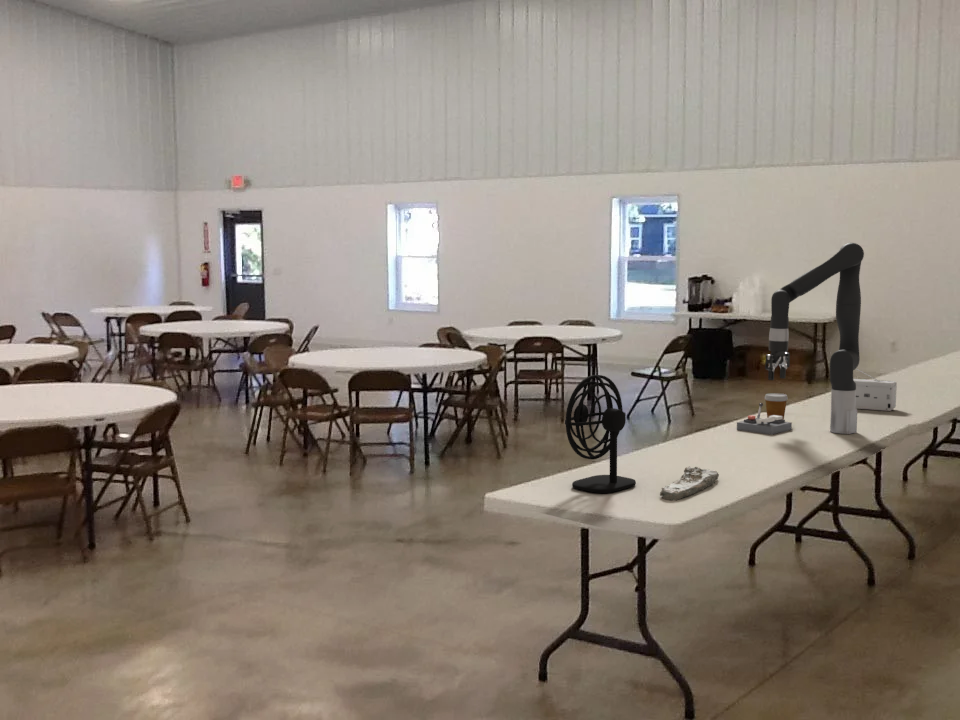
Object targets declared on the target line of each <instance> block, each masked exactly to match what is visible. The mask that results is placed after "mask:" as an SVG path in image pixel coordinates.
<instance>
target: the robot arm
mask: <svg viewBox="0 0 960 720" xmlns="http://www.w3.org/2000/svg"><path fill="white" fill-rule="evenodd" d="M864 256H865V252H864V249H863V247H862V246H861V245H860V244H859V243H856V242H848V243H845V244H843V245H842V246H841V247H840V249H839V250H838V251H837V252H836V253H835V254H834V255H833V256H832V257H830V258H829V259H827V260H826V261H825V262H823V263H821V264H819V265H817V266H815V267H813V268H812V269H810V270H808V271H806V272H804V273H803V274H801V275H799V276H798V277H797V278H795V279H793V280H792V281H791V282H789V283H788V284H786V285H784V286H782V287H781V288H779V289H777V290H776V291H774V292H773V293H772V296H771V300H770V304H771V305H770V306H771V308H770V309H771V316H770V322H769V323H770V328H769V333H768V334H769V335H768V351H769V352H771V353H770V354H766V355H765V364H764V365H765V366H764V369H765V370H766V371H768V372H767V373H768V374H767V375H768V376H767V379H768V381H774V380H775V369H776V368H777V367H778V366H779V368H780V369H779V378H780V379H786V377H787V375H786V374H787V373H786V372H787V369H788V368H790V366H791V365H790V361H791V359H790V358H791V354H790V352H788V351H789V336H790V335H789V332H790V331H789V326H790V325H789V324H790V323H789V311H790V303H791V302H793V301H794V300H796V299H798V298H799V297H801V296H804V295H805V294H807V293H808V292H810V291H812V290H814V289H815V288H817V287H818V286H820V285H822V283H824V282H825V281H827V280H828V279H830V278H831V277H833V276H835V275H837V274H839V282H838V287H837V291H836V292H837V293H836V300H835V301H836V302H835V305H836V306H835V319H836V323H837V327H838V331H839V347H838V350H836V351H834V352H833V353H832V355H831V356H830V358H829V359H830V360H829V381H830V386H831V391H830V420H829V421H830V423H829V424H830V425H829V426H830V427H829V429H830V430H829V431H830V433H835V434H841V435H842V434H843V435H844V434H846V435H847V434H848V435H850V434H855V433H857V431H858V430H857V429H858V409H857V408H855V402H856V383H855V382H854V380H853V379H854V370H857V369H858V366H859V365H860V343H859V336H860V335H859V333H860V322H861V320H860V319H861V311H862V310H861V309H862V308H861V307H862V294H861V293H862V292H861V285H860V284H861V283H860V274H861V265H862V261H863V260H864V258H865V257H864Z"/></svg>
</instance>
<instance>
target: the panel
mask: <svg viewBox="0 0 960 720" xmlns="http://www.w3.org/2000/svg"><path fill="white" fill-rule="evenodd" d="M759 419H763V418H761V417H760V418H759ZM756 420H758V418H757V417H755V419H754V420H750V419H748V418H745V419H743V420H741V421H737V422H736V430H737V431H744V432H750V433H757V434H765V435H776V434H781V433H784V432H789V431H792V430H793V429H792V423H793V422H790V421H786V419H784V420H783V419H781V420H775V421H772V422H766V423H764V422H761V423H759V424H757V422H756ZM788 430H789V431H788Z"/></svg>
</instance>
